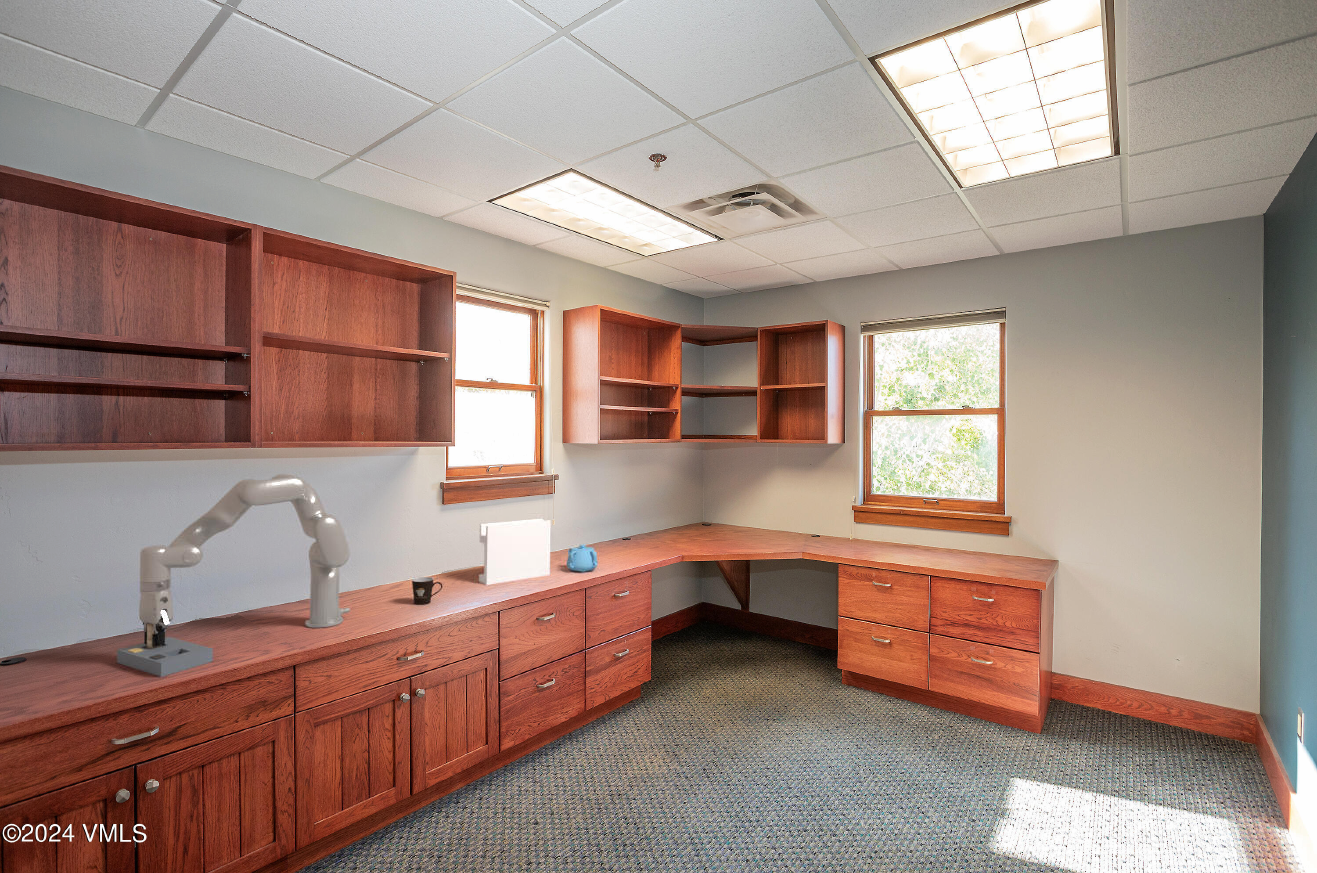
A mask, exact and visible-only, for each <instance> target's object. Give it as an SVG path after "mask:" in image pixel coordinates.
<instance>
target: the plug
mask: <svg viewBox="0 0 1317 873" xmlns="http://www.w3.org/2000/svg"><path fill="white" fill-rule="evenodd" d="M159 622H162V621H159ZM161 625H162V624H161ZM161 625H157V626H158V627H159V626H161ZM152 634H154V627H153V624H151V623H147V649H149V650H150V649H154V648H158V647H162V645H160V646H156V647H153V646H152Z"/></svg>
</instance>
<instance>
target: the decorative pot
mask: <svg viewBox="0 0 1317 873" xmlns="http://www.w3.org/2000/svg"><path fill="white" fill-rule="evenodd" d="M567 552H568V554H567V555H568V556H567V560H566V567H567V568H568V569H569V570H571V572H580V573H586V572H588V571H590V572H591V571H594V569H596V568H597V567H598V562H599V561H598V553H597V552H596V550H595V548H594V547H590V546H588V547H587V545H586V544H579V546H578V547H577V546H576V547H571V548H569V549H568V551H567Z"/></svg>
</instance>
